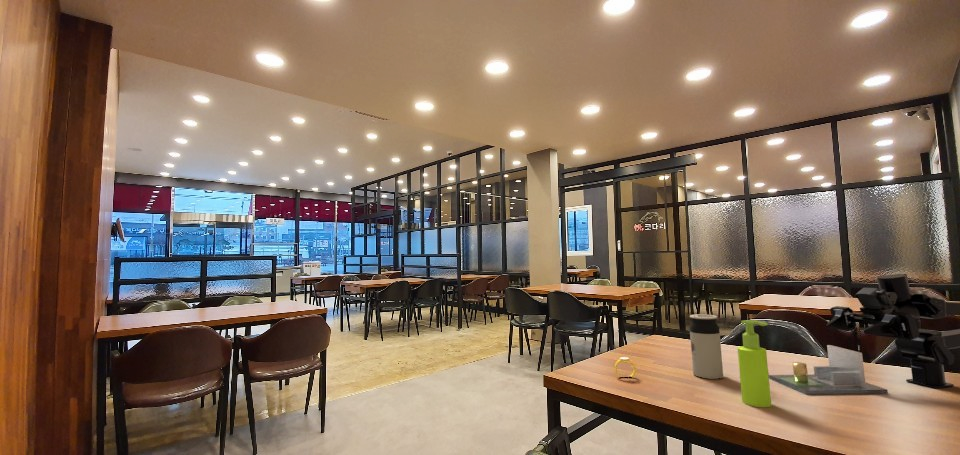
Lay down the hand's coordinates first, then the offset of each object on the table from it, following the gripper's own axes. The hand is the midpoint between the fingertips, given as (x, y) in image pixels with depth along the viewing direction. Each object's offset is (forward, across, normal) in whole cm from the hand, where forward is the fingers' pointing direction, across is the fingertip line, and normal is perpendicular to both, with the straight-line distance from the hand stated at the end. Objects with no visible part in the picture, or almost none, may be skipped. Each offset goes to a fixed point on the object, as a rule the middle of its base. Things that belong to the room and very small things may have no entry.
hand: (845, 329), depth 104 cm
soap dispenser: (+32, +2, +10) cm, 34 cm away
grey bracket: (+2, -5, +15) cm, 15 cm away
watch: (+51, -26, +7) cm, 58 cm away
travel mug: (+27, -21, +11) cm, 36 cm away
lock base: (+5, -6, +15) cm, 17 cm away
